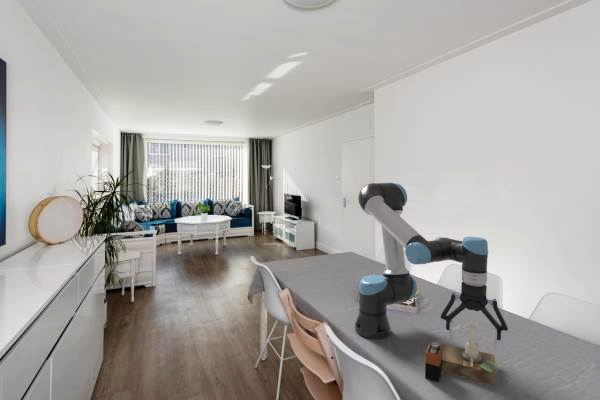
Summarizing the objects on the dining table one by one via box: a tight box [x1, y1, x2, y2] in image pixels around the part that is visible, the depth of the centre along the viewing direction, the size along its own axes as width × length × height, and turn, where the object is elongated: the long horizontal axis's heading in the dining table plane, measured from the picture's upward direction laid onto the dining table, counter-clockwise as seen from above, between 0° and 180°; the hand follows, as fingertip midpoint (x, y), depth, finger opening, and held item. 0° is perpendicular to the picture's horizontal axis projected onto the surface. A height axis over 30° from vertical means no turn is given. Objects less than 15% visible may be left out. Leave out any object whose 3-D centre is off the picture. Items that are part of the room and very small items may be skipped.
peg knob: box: [462, 319, 482, 367], centre depth 108 cm, size 6×10×12 cm, turn 152°
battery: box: [424, 342, 443, 383], centre depth 106 cm, size 4×7×10 cm, turn 149°
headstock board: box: [431, 341, 501, 386], centre depth 111 cm, size 21×13×4 cm, turn 62°
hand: (472, 343), depth 110 cm, fingers open, 13 cm apart
